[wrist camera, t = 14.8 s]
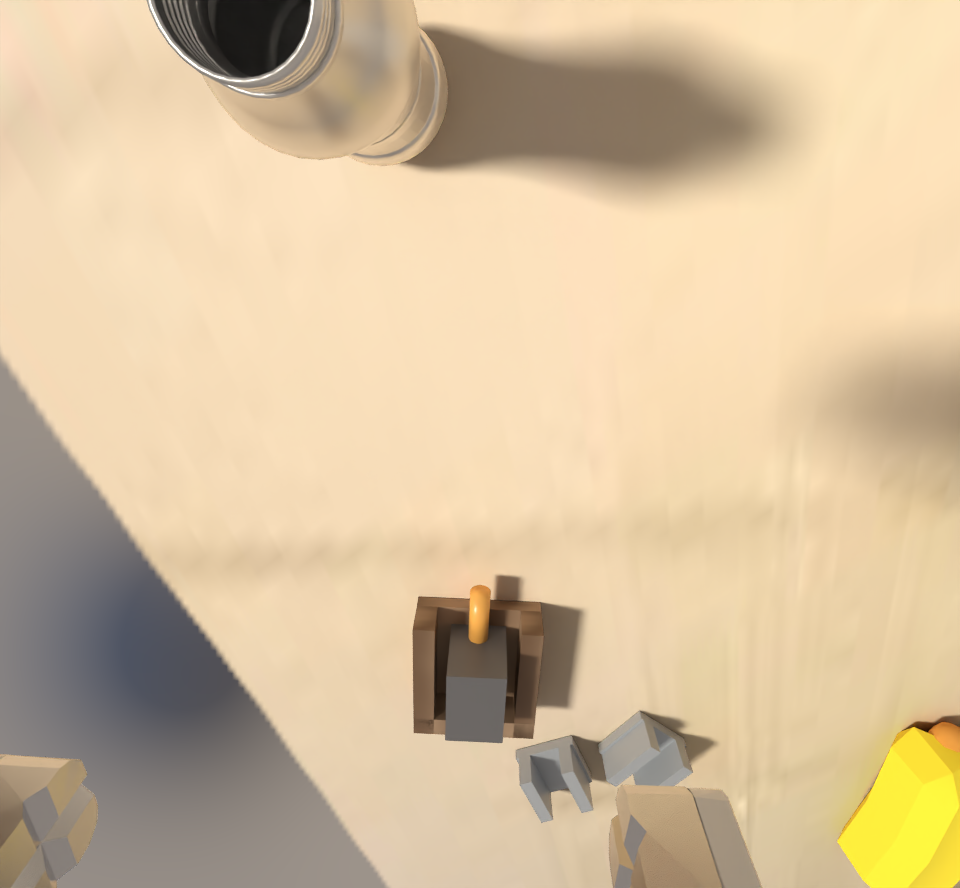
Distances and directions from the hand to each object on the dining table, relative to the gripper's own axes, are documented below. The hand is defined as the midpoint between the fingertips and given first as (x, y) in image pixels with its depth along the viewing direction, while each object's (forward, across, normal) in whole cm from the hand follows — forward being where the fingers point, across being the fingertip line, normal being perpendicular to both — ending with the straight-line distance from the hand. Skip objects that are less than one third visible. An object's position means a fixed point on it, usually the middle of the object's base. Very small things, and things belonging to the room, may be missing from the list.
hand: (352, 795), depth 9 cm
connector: (+28, -2, +22) cm, 36 cm away
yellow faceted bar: (+30, -39, +38) cm, 62 cm away
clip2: (+29, -9, +37) cm, 48 cm away
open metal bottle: (+29, +4, -12) cm, 32 cm away
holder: (+29, -2, +25) cm, 38 cm away
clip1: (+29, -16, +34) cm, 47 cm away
